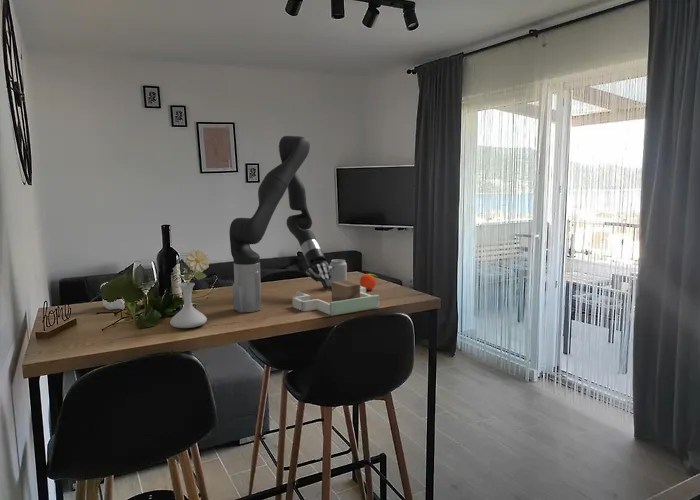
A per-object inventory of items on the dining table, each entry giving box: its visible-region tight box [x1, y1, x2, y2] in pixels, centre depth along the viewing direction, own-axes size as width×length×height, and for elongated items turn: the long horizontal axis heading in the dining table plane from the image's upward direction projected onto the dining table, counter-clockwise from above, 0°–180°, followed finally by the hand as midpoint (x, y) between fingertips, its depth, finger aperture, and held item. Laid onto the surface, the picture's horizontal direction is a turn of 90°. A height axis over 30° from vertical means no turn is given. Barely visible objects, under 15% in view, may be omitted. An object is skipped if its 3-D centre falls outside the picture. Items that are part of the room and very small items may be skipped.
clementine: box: [359, 273, 379, 291], centre depth 213 cm, size 8×7×7 cm
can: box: [329, 258, 348, 288], centre depth 219 cm, size 8×8×12 cm
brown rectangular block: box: [331, 280, 361, 302], centre depth 185 cm, size 6×10×9 cm, turn 33°
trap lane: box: [291, 285, 380, 316], centre depth 190 cm, size 32×27×4 cm
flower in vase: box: [169, 248, 211, 329], centre depth 161 cm, size 13×11×25 cm
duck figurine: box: [100, 281, 126, 311], centre depth 184 cm, size 12×8×11 cm
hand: (328, 288), depth 195 cm, fingers closed
